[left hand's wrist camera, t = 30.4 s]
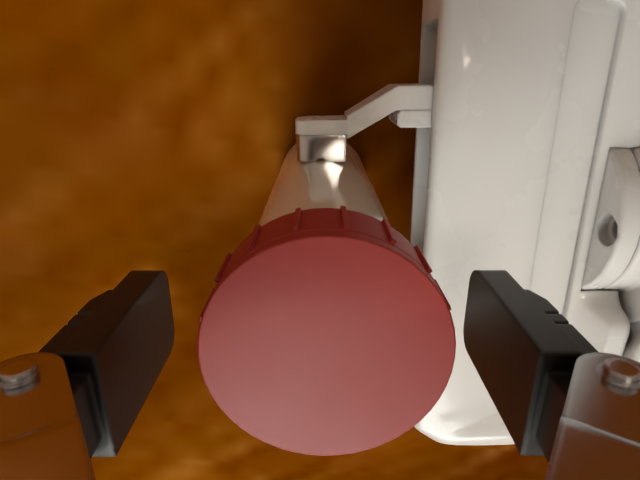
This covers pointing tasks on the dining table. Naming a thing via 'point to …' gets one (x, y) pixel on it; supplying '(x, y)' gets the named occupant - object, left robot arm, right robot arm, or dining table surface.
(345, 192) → the beige cylinder
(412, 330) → the lid
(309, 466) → the dining table surface
